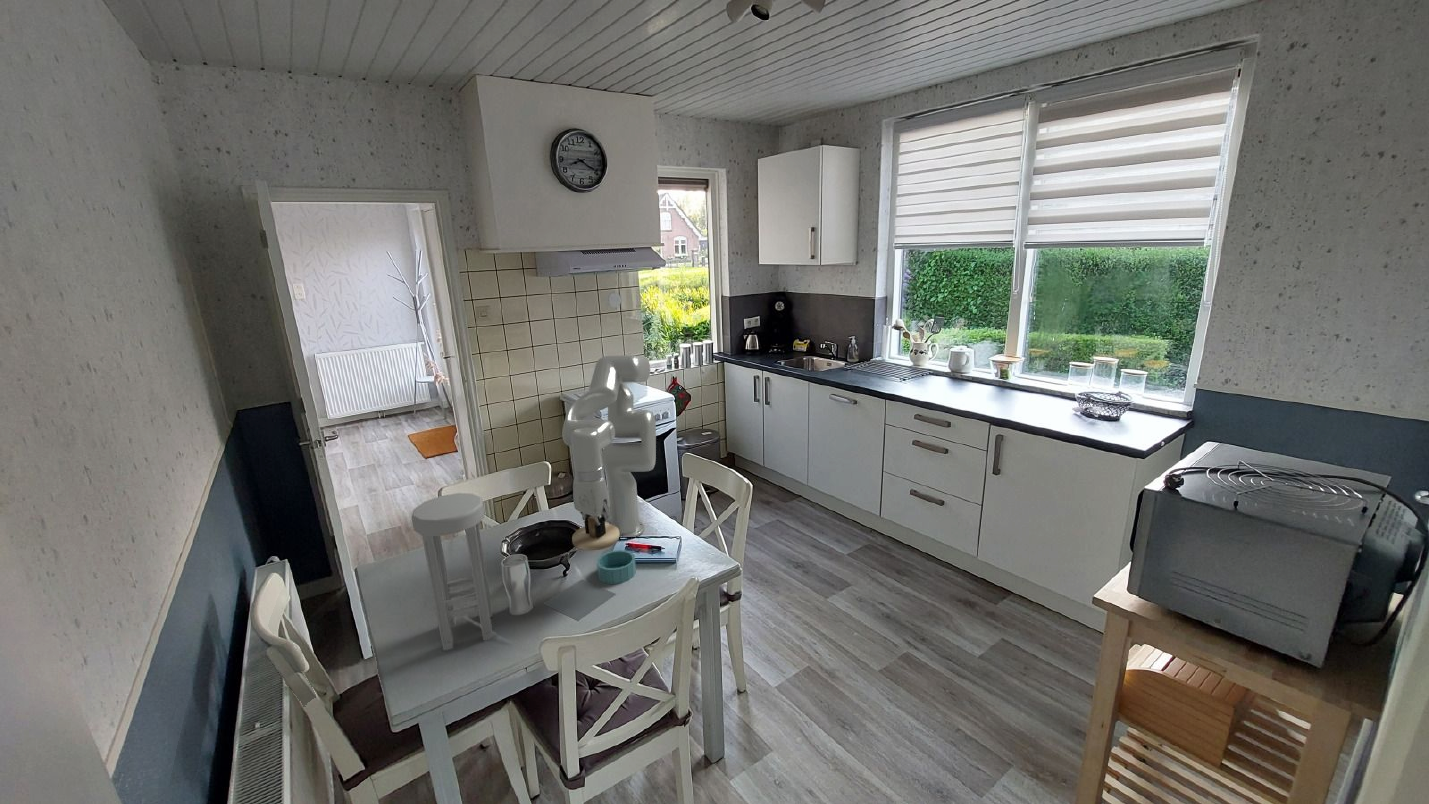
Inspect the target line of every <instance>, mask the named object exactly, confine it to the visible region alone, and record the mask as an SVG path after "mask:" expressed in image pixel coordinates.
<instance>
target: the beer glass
mask: <svg viewBox="0 0 1429 804" xmlns="http://www.w3.org/2000/svg"><path fill="white" fill-rule="evenodd" d="M500 566H501V575H502V582H503V583H502V584H503V586H504V589H505V591H506V594H507V598H508V601H509V610H508V611H509V614H511V615H513V616H521V615H524V614H527V613H529V612H530V611H531V610H533V608H534V607H533V602H532V600H531V596H530V595H531V593H530V592H531V570H530V565H529V561H528V557H527V555H525V554H522V553H517V554H511V555H508V556H506V557H504V558H503V559H502V560H501V563H500Z"/></svg>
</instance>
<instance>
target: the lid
mask: <svg viewBox="0 0 1429 804" xmlns="http://www.w3.org/2000/svg"><path fill="white" fill-rule="evenodd" d="M600 518H601V515H600V516H599V519H600ZM595 525H596V520H595V517H593V516H591V517H589V518H588V526H589V534H586V531H585V526H582V527H581V528H579V529H577V530H576V531H575V532H574V533H573V534H572V537H571V539H572V540H571V541H572V545H573V546H574V547H575V548H576V549H579V550H583V551H598V550H603V549H607V548H609V547H612V546H613V545H615V544H616V543H617V542H618V541H619V537H620V534H619V529H618V528H617V527H616V526H614V525H611V524H609V523H607V522H605V528H606V534H604V535H603V536H601V537H599V538H597V537H596V532H595Z"/></svg>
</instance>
